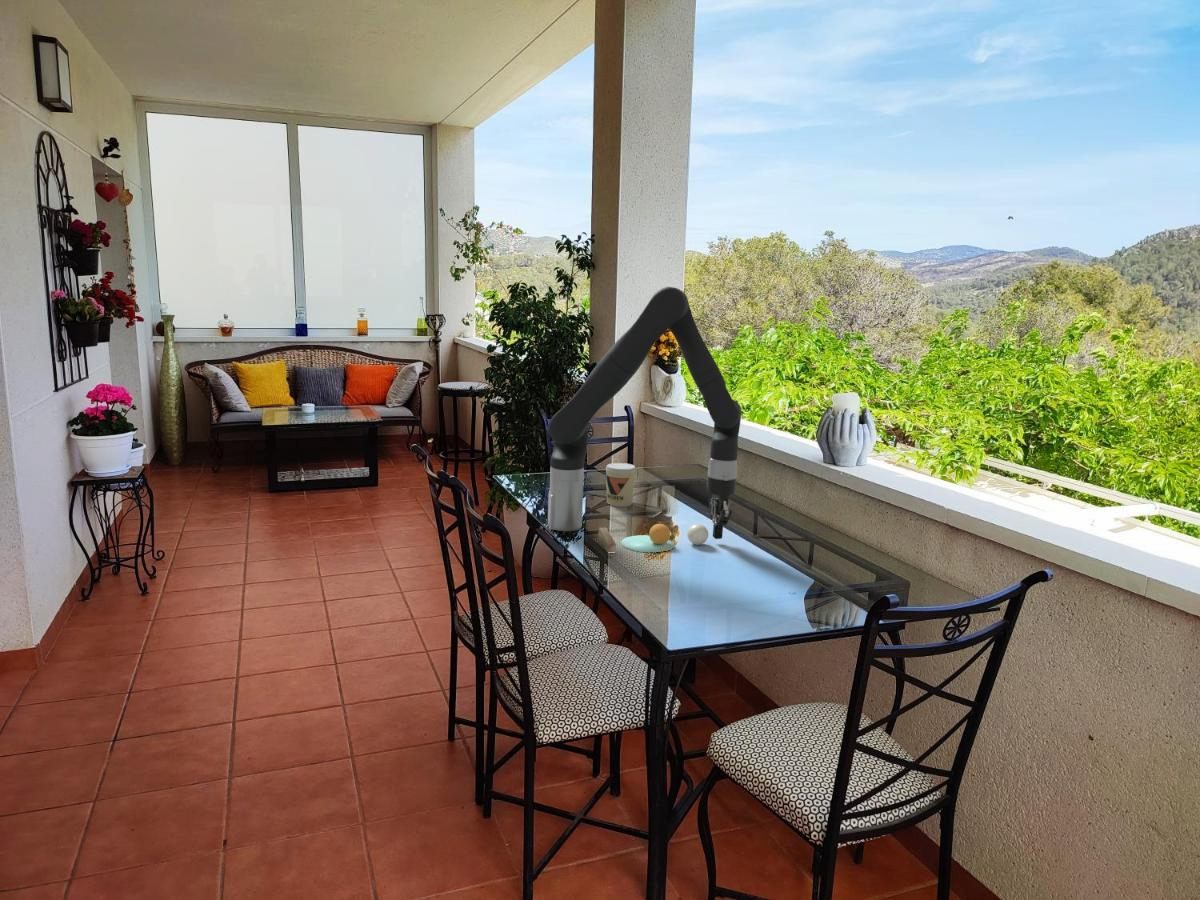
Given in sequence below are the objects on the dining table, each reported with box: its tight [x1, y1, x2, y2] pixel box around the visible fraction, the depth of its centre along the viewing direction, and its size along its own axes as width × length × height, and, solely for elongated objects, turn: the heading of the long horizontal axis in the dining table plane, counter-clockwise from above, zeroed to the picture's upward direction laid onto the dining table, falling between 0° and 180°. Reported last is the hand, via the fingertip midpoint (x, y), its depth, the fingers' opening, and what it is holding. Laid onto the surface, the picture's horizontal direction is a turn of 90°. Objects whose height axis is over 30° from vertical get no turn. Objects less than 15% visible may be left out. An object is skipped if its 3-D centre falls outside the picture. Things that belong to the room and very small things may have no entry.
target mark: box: [620, 534, 675, 554], centre depth 208 cm, size 14×14×1 cm
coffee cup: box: [605, 462, 637, 508], centre depth 245 cm, size 9×9×12 cm
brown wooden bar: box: [598, 527, 617, 553], centre depth 206 cm, size 2×14×2 cm, turn 10°
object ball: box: [648, 523, 671, 545], centre depth 208 cm, size 6×6×6 cm
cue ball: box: [686, 523, 709, 546], centre depth 209 cm, size 6×6×6 cm
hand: (717, 537), depth 211 cm, fingers closed
